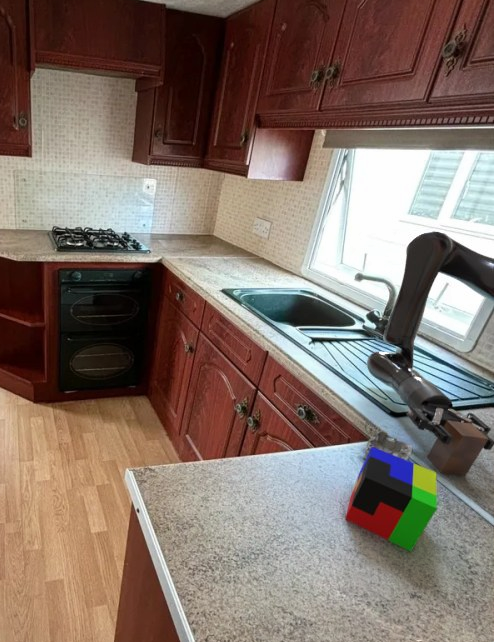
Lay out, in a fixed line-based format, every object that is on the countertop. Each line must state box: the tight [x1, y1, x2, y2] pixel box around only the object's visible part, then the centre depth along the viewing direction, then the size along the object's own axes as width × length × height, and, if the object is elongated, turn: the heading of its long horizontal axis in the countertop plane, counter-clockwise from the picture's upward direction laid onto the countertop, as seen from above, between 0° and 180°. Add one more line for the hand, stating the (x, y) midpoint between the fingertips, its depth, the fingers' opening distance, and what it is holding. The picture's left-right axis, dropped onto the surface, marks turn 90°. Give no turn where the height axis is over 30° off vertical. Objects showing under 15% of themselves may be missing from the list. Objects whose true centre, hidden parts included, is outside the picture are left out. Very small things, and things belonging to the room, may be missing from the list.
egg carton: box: [362, 426, 413, 461], centre depth 87 cm, size 11×8×4 cm
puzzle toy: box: [344, 447, 438, 552], centre depth 71 cm, size 10×10×10 cm
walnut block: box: [426, 420, 488, 477], centre depth 85 cm, size 5×5×10 cm
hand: (469, 443), depth 82 cm, fingers open, 7 cm apart
